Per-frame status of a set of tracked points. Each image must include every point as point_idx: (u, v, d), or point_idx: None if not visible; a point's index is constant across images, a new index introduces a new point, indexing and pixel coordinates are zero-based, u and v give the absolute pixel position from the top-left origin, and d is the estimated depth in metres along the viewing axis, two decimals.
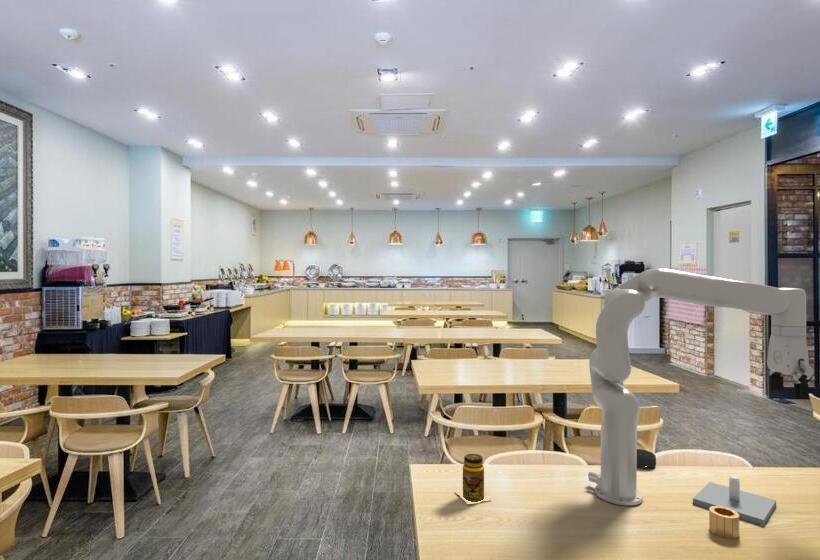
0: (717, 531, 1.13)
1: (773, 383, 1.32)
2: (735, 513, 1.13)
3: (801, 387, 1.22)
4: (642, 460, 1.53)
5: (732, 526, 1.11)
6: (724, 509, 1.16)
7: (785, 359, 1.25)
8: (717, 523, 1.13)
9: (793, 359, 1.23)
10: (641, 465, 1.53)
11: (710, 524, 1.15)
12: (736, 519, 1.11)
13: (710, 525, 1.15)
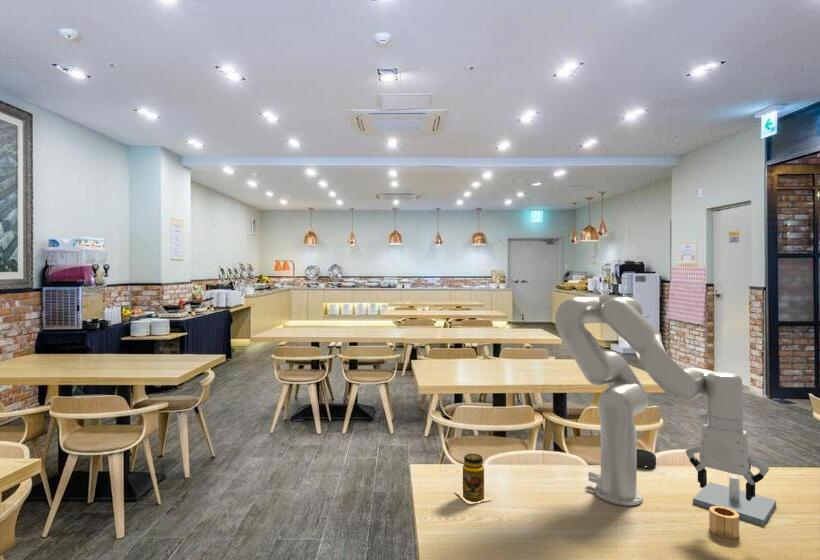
0: (717, 531, 1.13)
1: (703, 480, 1.17)
2: (735, 513, 1.13)
3: (753, 488, 1.09)
4: (642, 460, 1.53)
5: (732, 526, 1.11)
6: (724, 509, 1.16)
7: (737, 458, 1.10)
8: (717, 523, 1.13)
9: (747, 457, 1.09)
10: (641, 465, 1.53)
11: (710, 524, 1.15)
12: (736, 519, 1.11)
13: (710, 525, 1.15)
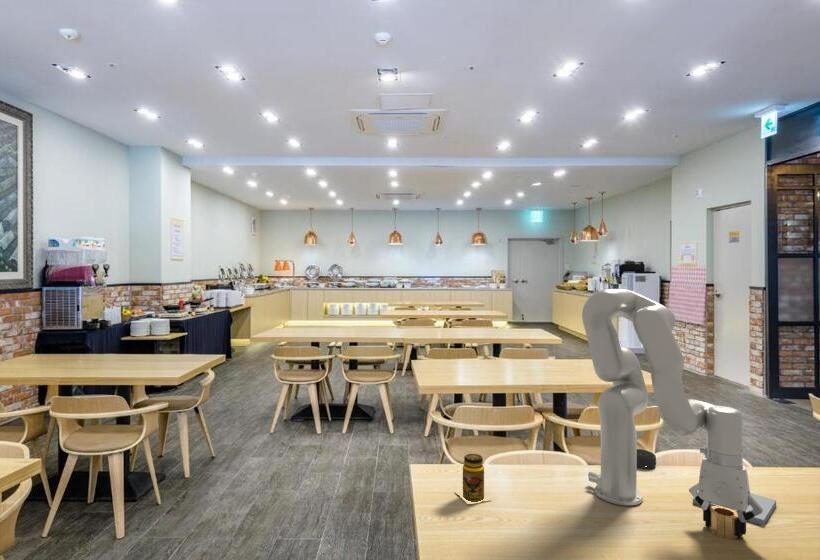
0: (717, 531, 1.13)
1: (708, 519, 1.16)
2: (735, 513, 1.13)
3: (744, 525, 1.11)
4: (642, 460, 1.53)
5: (732, 526, 1.11)
6: (724, 509, 1.16)
7: (736, 494, 1.10)
8: (717, 523, 1.13)
9: (746, 494, 1.09)
10: (641, 465, 1.53)
11: (710, 524, 1.15)
12: (736, 519, 1.11)
13: (710, 525, 1.15)
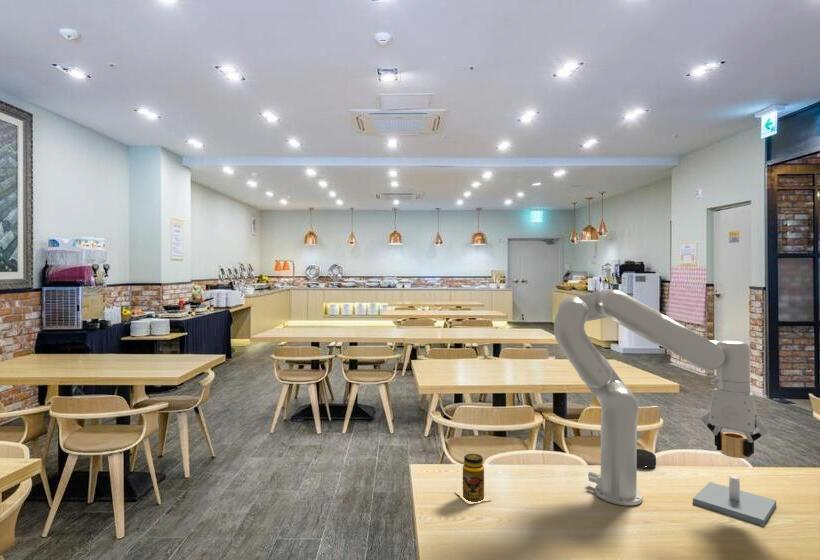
0: (727, 452, 1.24)
1: (719, 443, 1.27)
2: (744, 436, 1.25)
3: (752, 445, 1.22)
4: (642, 460, 1.53)
5: (740, 446, 1.22)
6: (734, 434, 1.27)
7: (744, 416, 1.21)
8: (727, 445, 1.24)
9: (753, 416, 1.21)
10: (641, 465, 1.53)
11: (721, 447, 1.26)
12: (744, 440, 1.23)
13: (721, 448, 1.26)
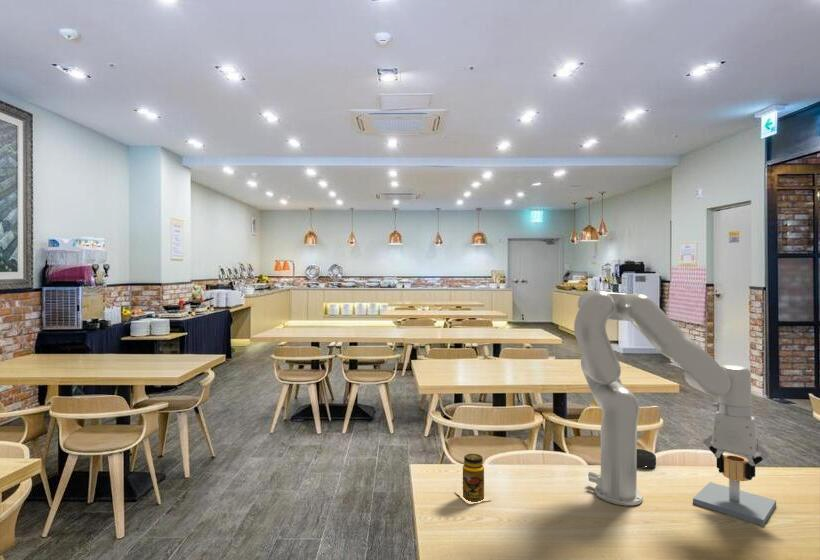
0: (729, 475, 1.27)
1: None
2: (745, 459, 1.28)
3: (754, 468, 1.25)
4: (642, 460, 1.53)
5: (742, 469, 1.25)
6: (735, 457, 1.30)
7: (746, 440, 1.24)
8: (729, 468, 1.27)
9: (755, 440, 1.24)
10: (641, 465, 1.53)
11: (723, 470, 1.29)
12: (746, 464, 1.26)
13: (723, 471, 1.29)
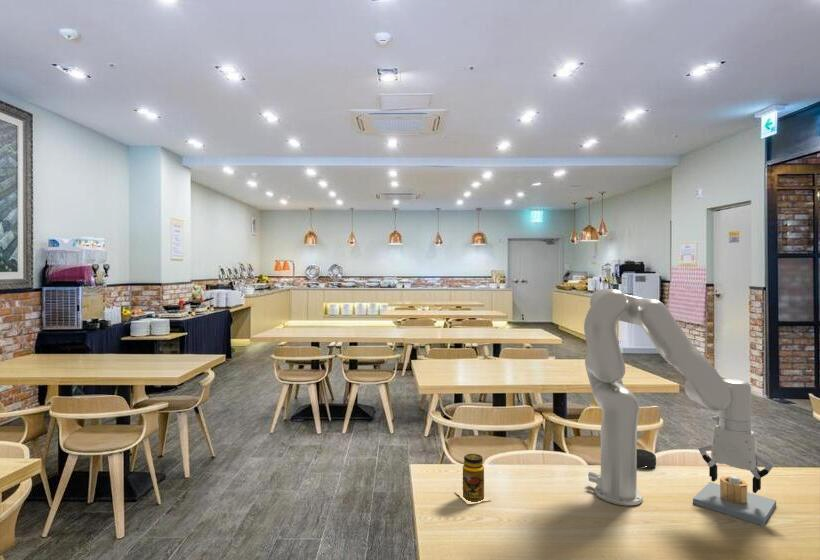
0: (727, 498, 1.27)
1: (714, 475, 1.31)
2: (743, 482, 1.28)
3: (759, 481, 1.24)
4: (642, 460, 1.53)
5: (740, 493, 1.26)
6: None
7: (745, 455, 1.24)
8: (727, 491, 1.27)
9: (754, 455, 1.24)
10: (641, 465, 1.53)
11: (721, 492, 1.29)
12: (744, 487, 1.26)
13: (721, 493, 1.29)
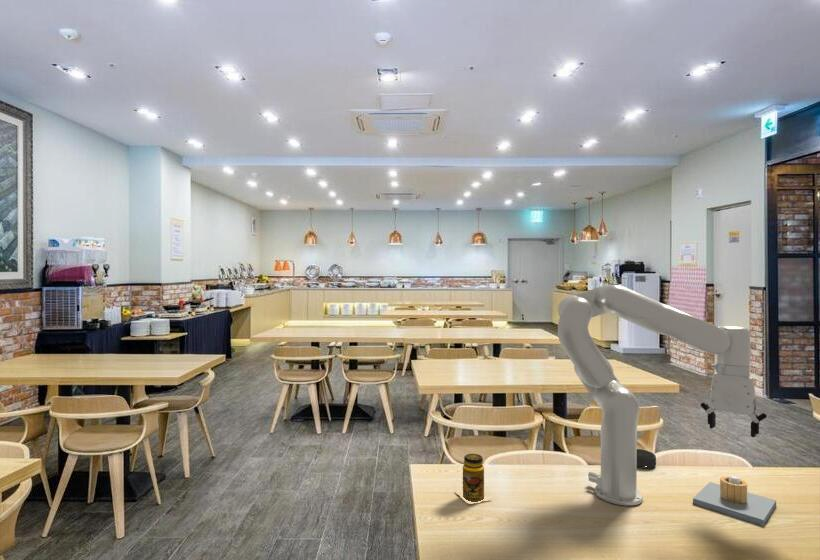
0: (727, 498, 1.27)
1: (712, 422, 1.31)
2: (743, 482, 1.28)
3: (757, 426, 1.24)
4: (642, 460, 1.53)
5: (740, 493, 1.26)
6: None
7: (744, 399, 1.25)
8: (727, 491, 1.27)
9: (752, 399, 1.24)
10: (641, 465, 1.53)
11: (721, 492, 1.29)
12: (744, 487, 1.26)
13: (721, 493, 1.29)
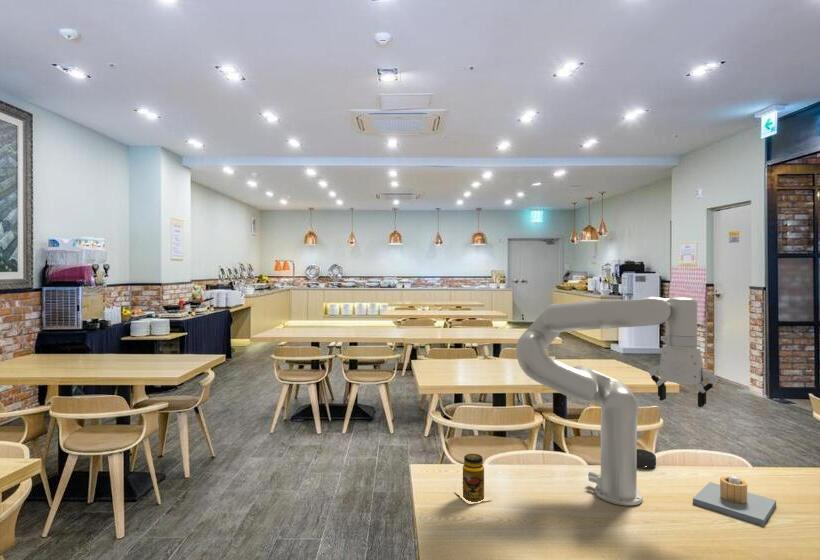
0: (727, 498, 1.27)
1: (662, 393, 1.31)
2: (743, 482, 1.28)
3: (704, 396, 1.24)
4: (642, 460, 1.53)
5: (740, 493, 1.26)
6: None
7: (690, 370, 1.25)
8: (727, 491, 1.27)
9: (699, 369, 1.24)
10: (641, 465, 1.53)
11: (721, 492, 1.29)
12: (744, 487, 1.26)
13: (721, 493, 1.29)
